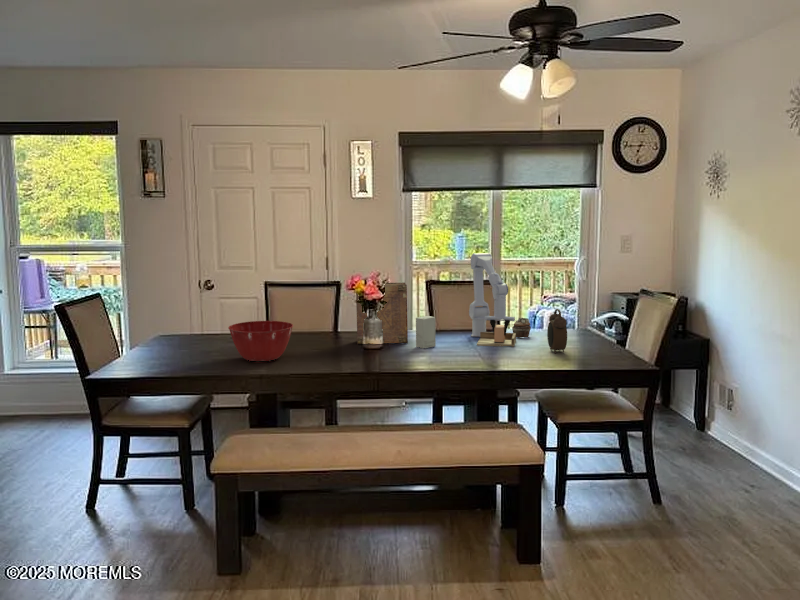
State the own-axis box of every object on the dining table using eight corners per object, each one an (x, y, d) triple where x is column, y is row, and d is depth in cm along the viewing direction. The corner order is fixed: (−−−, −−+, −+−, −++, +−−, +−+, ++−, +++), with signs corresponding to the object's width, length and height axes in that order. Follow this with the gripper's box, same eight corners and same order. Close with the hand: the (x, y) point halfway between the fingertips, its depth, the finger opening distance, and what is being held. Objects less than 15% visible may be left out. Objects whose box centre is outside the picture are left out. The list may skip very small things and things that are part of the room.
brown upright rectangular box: (406, 340, 332) (405, 282, 328) (407, 343, 323) (407, 284, 319) (357, 341, 330) (356, 283, 327) (357, 344, 321) (356, 285, 317)
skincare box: (428, 344, 319) (427, 315, 317) (436, 346, 315) (436, 316, 313) (415, 347, 314) (415, 317, 312) (423, 349, 309) (423, 318, 307)
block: (494, 341, 317) (494, 327, 316) (495, 338, 325) (496, 324, 325) (503, 342, 316) (503, 328, 315) (504, 338, 324) (505, 325, 324)
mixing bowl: (306, 358, 291) (305, 324, 289) (252, 369, 271) (250, 333, 269) (271, 350, 310) (270, 318, 308) (217, 359, 290) (216, 326, 288)
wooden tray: (480, 339, 332) (480, 331, 331) (515, 340, 328) (516, 333, 327) (476, 345, 316) (476, 337, 316) (513, 346, 312) (514, 338, 312)
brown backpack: (544, 348, 307) (545, 307, 304) (560, 348, 307) (560, 307, 304) (552, 355, 292) (553, 311, 290) (568, 355, 293) (569, 311, 290)
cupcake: (516, 334, 345) (517, 316, 344) (533, 336, 340) (533, 317, 338) (508, 337, 338) (509, 318, 336) (525, 339, 332) (526, 319, 331)
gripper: (484, 308, 317) (484, 336, 318) (514, 309, 313) (513, 337, 315) (485, 306, 324) (485, 333, 325) (515, 307, 320) (514, 334, 322)
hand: (499, 335), depth 321 cm, fingers closed on block, 4 cm apart
